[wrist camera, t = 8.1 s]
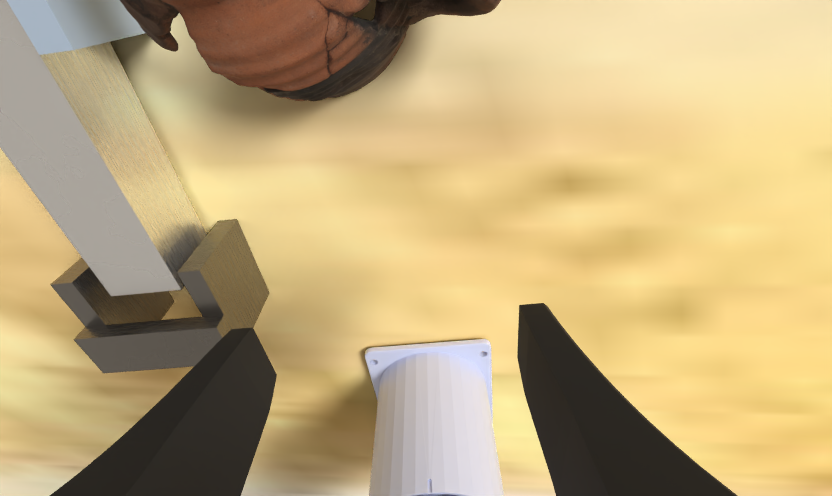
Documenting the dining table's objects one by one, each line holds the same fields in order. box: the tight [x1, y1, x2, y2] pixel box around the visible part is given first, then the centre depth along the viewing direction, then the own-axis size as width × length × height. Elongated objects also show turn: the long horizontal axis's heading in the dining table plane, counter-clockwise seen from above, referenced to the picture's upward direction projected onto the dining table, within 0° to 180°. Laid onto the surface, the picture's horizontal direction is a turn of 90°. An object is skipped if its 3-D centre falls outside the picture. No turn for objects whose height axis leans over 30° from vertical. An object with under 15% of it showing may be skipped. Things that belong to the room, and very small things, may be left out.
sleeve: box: [50, 219, 269, 373], centre depth 20 cm, size 5×7×5 cm
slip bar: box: [0, 0, 207, 296], centre depth 16 cm, size 12×3×3 cm, turn 7°
